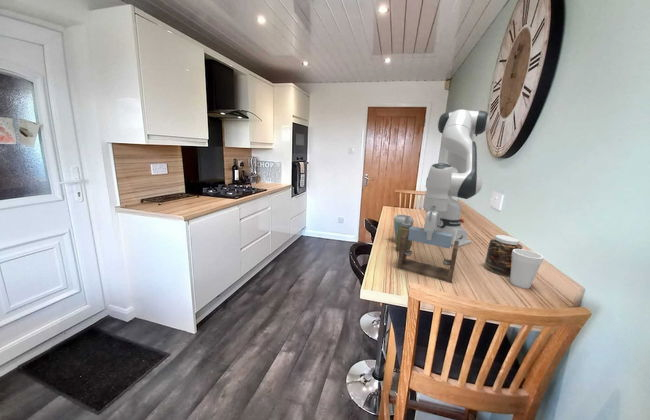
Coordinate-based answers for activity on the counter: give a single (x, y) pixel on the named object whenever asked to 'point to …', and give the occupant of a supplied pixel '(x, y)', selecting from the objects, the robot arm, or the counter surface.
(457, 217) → the robot arm
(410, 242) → the squeeze bottle
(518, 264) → the foam cup
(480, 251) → the counter surface
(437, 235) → the grey block
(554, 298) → the counter surface
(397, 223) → the disposable coffee cup
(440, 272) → the shelf frame
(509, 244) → the jar
